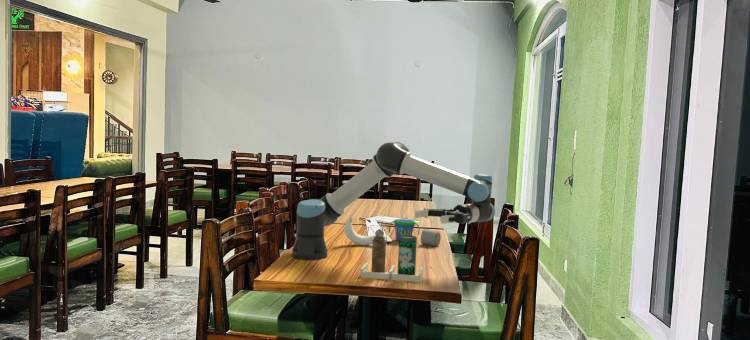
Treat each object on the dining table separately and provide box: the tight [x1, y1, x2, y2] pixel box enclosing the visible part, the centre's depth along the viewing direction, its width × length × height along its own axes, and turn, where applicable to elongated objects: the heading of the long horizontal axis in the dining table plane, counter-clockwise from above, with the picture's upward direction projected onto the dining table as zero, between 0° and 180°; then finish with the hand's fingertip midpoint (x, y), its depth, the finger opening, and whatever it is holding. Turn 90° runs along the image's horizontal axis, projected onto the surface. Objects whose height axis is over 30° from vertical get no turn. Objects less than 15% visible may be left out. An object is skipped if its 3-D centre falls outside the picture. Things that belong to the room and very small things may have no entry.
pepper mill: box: [370, 229, 387, 273], centre depth 204 cm, size 5×5×17 cm
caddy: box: [359, 262, 424, 283], centre depth 203 cm, size 22×10×4 cm, turn 81°
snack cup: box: [388, 218, 421, 242], centre depth 278 cm, size 16×10×10 cm
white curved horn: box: [343, 214, 385, 246], centre depth 262 cm, size 5×19×15 cm, turn 93°
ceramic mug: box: [420, 228, 442, 247], centre depth 271 cm, size 11×8×8 cm
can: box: [397, 235, 418, 275], centre depth 202 cm, size 6×6×15 cm
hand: (428, 216), depth 207 cm, fingers open, 13 cm apart
